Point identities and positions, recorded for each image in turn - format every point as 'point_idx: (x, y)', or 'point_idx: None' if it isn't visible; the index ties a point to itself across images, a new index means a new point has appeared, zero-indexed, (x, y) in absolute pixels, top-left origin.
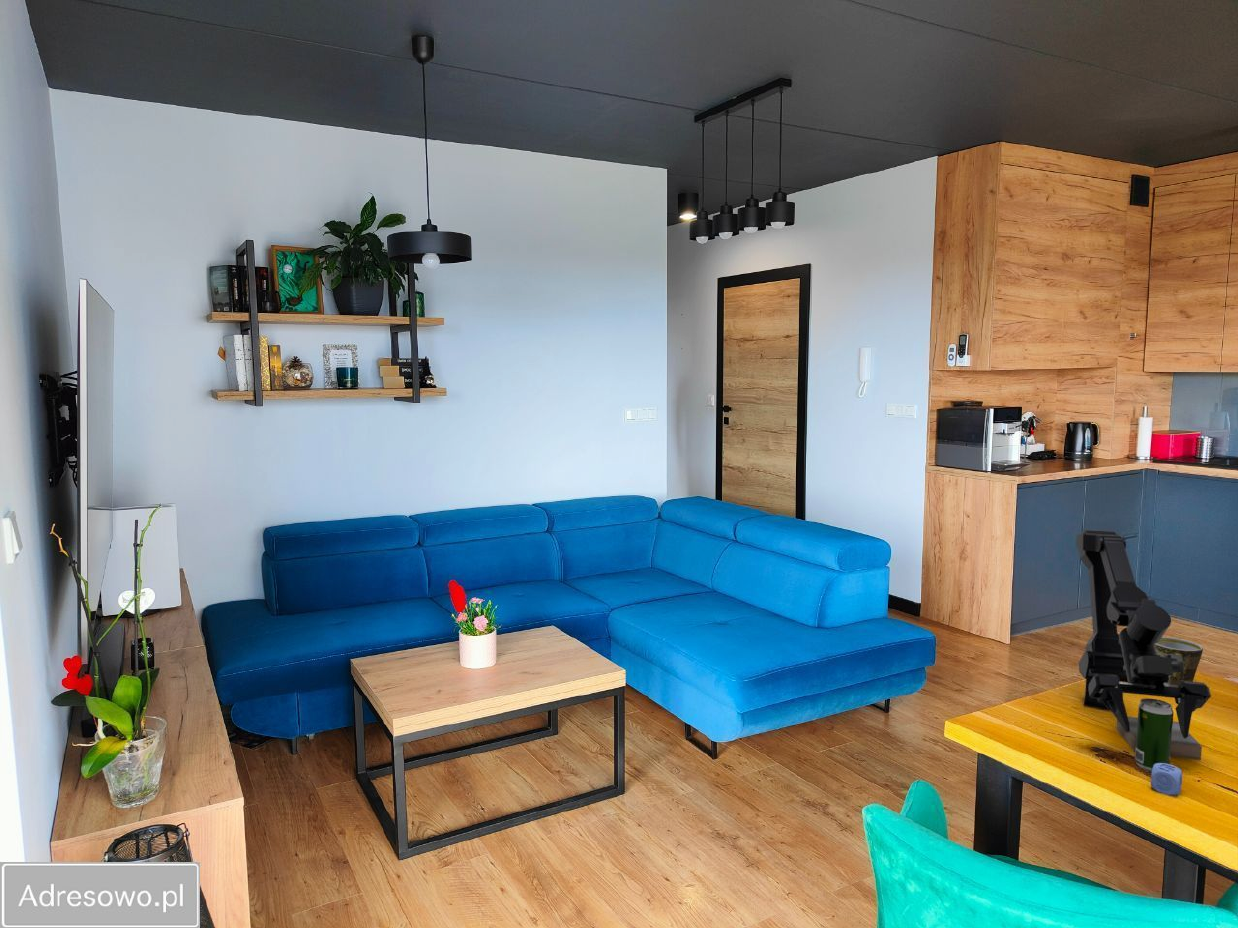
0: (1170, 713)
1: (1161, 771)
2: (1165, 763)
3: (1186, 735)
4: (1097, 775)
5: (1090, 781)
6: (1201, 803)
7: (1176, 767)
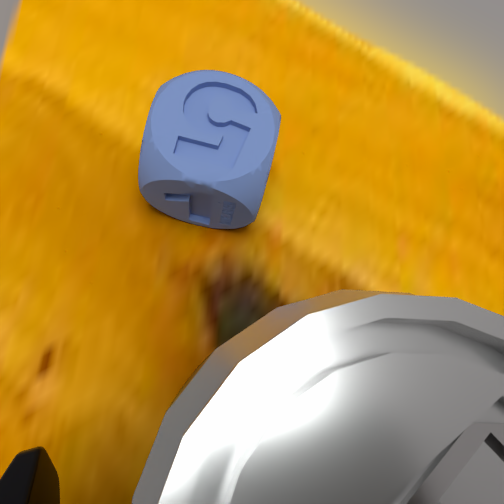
0: (188, 390)
1: (244, 80)
2: (218, 180)
3: (30, 451)
4: (452, 187)
5: (465, 120)
6: (86, 111)
7: (166, 155)
